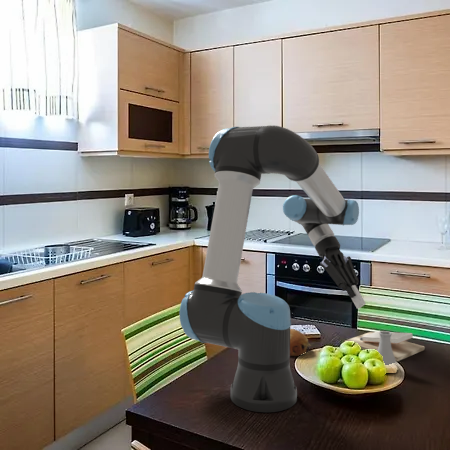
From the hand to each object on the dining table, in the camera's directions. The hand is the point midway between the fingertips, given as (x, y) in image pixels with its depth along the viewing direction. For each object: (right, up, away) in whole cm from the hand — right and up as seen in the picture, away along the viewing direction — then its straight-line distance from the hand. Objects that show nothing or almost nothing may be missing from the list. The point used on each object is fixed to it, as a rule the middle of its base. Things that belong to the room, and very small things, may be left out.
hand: (361, 306), depth 155 cm
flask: (0, -14, -21) cm, 25 cm away
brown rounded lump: (-22, -12, -7) cm, 26 cm away
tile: (+2, -9, 0) cm, 9 cm away
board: (+6, -11, -4) cm, 13 cm away
